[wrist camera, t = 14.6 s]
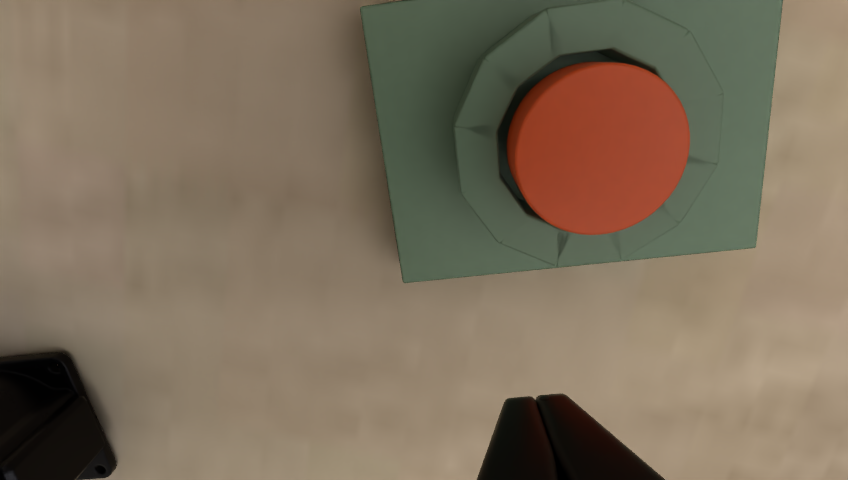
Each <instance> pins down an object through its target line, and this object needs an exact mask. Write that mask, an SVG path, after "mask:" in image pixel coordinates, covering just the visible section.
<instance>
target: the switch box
mask: <svg viewBox="0 0 848 480" xmlns="http://www.w3.org/2000/svg"><path fill="white" fill-rule="evenodd" d="M782 3H783V0H402V1H395V2H388V3H382V4H375V5H368V6H362V7H361V8H360V12H361V19H362V25H363V31H364V38H365V44H366V51H367V57H368V63H369V70H370V76H371V82H372V89H373V95H374V102H375V108H376V114H377V121H378V127H379V133H380V140H381V146H382V152H383V159H384V165H385V172H386V178H387V184H388V191H389V197H390V203H391V210H392V216H393V222H394V229H395V235H396V242H397V248H398V254H399V261H400V267H401V273H402V280H403V282H404V283H409V282H419V281H429V280H439V279H449V278H459V277H469V276H479V275H489V274H499V273H509V272H519V271H529V270H539V269H549V268H559V267H569V266H579V265H589V264H599V263H609V262H619V261H629V260H639V259H649V258H658V257H668V256H678V255H688V254H698V253H708V252H718V251H728V250H738V249H748V248H755V247H756V241H757V232H758V223H759V213H760V204H761V195H762V186H763V177H764V168H765V159H766V150H767V140H768V131H769V122H770V113H771V104H772V95H773V86H774V77H775V67H776V58H777V49H778V40H779V31H780V22H781V13H782ZM582 62H615V63H626V64H630V65H635V66H638V67H641V68H643V69H646V70H648V71H650V72H652V73H653V74H655V75H657V76H658V77H660V78H661V79H662V80H663V81H665V82H666V83H667V84H668V85H669V86H670V87H671V89H672V90H673V91H674V92H675V94H676V95H677V97H678V98H679V99H680V101H681V103H682V106H683V108H684V110H685V113H686V116H687V119H688V124H689V131H690V147H689V155H688V159H687V163H686V167H685V169H684V172H683V174H682V177H681V179H680V181H679V183H678V184H677V186H676V188H675V189H674V191H673V192H672V194H671V195H670V196H669V198H668V199H667V200H666V201H665V202H664V203H663V204H662V205H661V206H660V207H659V208H658V209H657V210H656V211H655V212H654V213H652V214H651V215H650V216H648V217H647V218H645V219H644V220H642V221H640V222H639V223H637V224H635V225H633V226H631V227H628V228H626V229H623V230H620V231H617V232H613V233H608V234H601V235H583V234H576V233H571V232H568V231H565V230H562V229H559V228H557V227H555V226H553V225H551V224H549V223H548V222H547V221H545V220H544V219H542V218H541V217H540V216H539V215H538V214H537V213H535V212H534V210H533V209H532V208H531V207H530V206H529V204H528V203H527V201H526V200H525V198H524V197H523V195H522V193H521V191H520V190H519V188H518V186H517V184H516V183H515V181H514V178H513V176H512V174H511V171H510V168H509V164H508V158H507V137H508V131H509V127H510V123H511V121H512V118H513V116H514V113H515V111H516V109H517V108H518V106H519V104H520V102H521V101H522V100H523V98H524V97H525V95H526V94H527V93H528V92H529V91H530V90H531V89H532V88H533V87H534V86H535V85H536V84H537V83H538V82H539V81H541V80H542V79H543V78H545V77H546V76H548V75H549V74H551V73H553V72H555V71H557V70H559V69H561V68H563V67H566V66H569V65H572V64H577V63H582Z"/></svg>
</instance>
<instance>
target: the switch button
mask: <svg viewBox="0 0 848 480" xmlns="http://www.w3.org/2000/svg"><path fill="white" fill-rule="evenodd" d="M689 147H690V131H689V124H688V119H687V116H686V113H685V110H684V108H683V106H682V103H681V101H680V99H679V98H678V97H677V95H676V94H675V92H674V91H673V90H672V89H671V87H670V86H669V85H668V84H667V83H666V82H665V81H663V80H662V79H661V78H660V77H658V76H657V75H655V74H653V73H652V72H650V71H648V70H646V69H643V68H641V67H638V66H635V65H630V64H626V63H615V62H582V63H577V64H572V65H569V66H566V67H563V68H561V69H559V70H557V71H555V72H553V73H551V74H549V75H548V76H546V77H545V78H543V79H542V80H541V81H539V82H538V83H537V84H536V85H535V86H534V87H533V88H532V89H531V90H530V91H529V92H528V93H527V94H526V95H525V97H524V98H523V100H522V101H521V102H520V104H519V106H518V108H517V109H516V111H515V113H514V116H513V118H512V121H511V123H510V127H509V131H508V137H507V158H508V164H509V168H510V171H511V174H512V176H513V178H514V181H515V183H516V184H517V186H518V188H519V190H520V191H521V193H522V195H523V197H524V198H525V200H526V201H527V203H528V204H529V206H530V207H531V208H532V209H533V210H534V212H535V213H537V214H538V215H539V216H540V217H541V218H542V219H544V220H545V221H547V222H548V223H549V224H551V225H553V226H555V227H557V228H559V229H562V230H565V231H568V232H571V233H576V234H583V235H601V234H608V233H613V232H617V231H620V230H623V229H626V228H628V227H631V226H633V225H635V224H637V223H639V222H640V221H642V220H644V219H645V218H647V217H648V216H650V215H651V214H652V213H654V212H655V211H656V210H657V209H658V208H659V207H660V206H661V205H662V204H663V203H664V202H665V201H666V200H667V199H668V198H669V196H670V195H671V194H672V192H673V191H674V189H675V188H676V186H677V184H678V183H679V181H680V179H681V177H682V174H683V172H684V169H685V167H686V163H687V159H688V155H689Z"/></svg>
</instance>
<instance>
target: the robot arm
mask: <svg viewBox="0 0 848 480" xmlns="http://www.w3.org/2000/svg"><path fill="white" fill-rule="evenodd" d="M57 364H58V365H59V366H60V367H59V366H58V365H57ZM116 466H117V464H116V460H115V458H114V456H113V454H112V451H111V449H110V447H109V444H108V442H107V440H106V438H105V435H104V433H103V431H102V428H101V426H100V424H99V421H98V419H97V417H96V415H95V412H94V410H93V408H92V405H91V403H90V401H89V399H88V396H87V394H86V392H85V389H84V387H83V385H82V382H81V380H80V378H79V376H78V373H77V371H76V369H75V366H74V364H73V362H72V360H71V359H70V357H68V356H67V355H66V354H63V353H58V352H56V353H45V354H34V355H24V356H13V357H3V358H0V480H83V479H96V478H106V477H108V476H110V475H111V474H112V472H113V471H114V470H115V469H116ZM477 480H665V479H664V478H663V477H661V476H660V475H659V474H658V473H657V472H656V471H654V470H653V469H652V468H651V467H650V466H649V465H647V464H646V463H645V462H644V461H643V460H642V459H640V458H639V457H638V456H637V455H636V454H635V453H633V452H632V451H631V450H630V449H629V448H628V447H626V446H625V445H624V444H623V443H622V442H620V441H619V440H618V439H617V438H616V437H615V436H613V435H612V434H611V433H610V432H609V431H608V430H606V429H605V428H604V427H603V426H602V425H601V424H599V423H598V422H597V421H596V420H595V419H594V418H592V417H591V416H590V415H589V414H588V413H587V412H585V411H584V410H583V409H582V408H581V407H579V406H578V405H577V404H576V403H575V402H574V401H572V400H571V399H570V398H569V397H568V396H566V395H564V394H549V395H540V396H538V397H536V400H535V399H534V398H533V397H530V396H528V397H517V398H508V399H506V400H505V402H504V404H503V407H502V410H501V413H500V416H499V418H498V421H497V424H496V427H495V430H494V433H493V435H492V438H491V441H490V444H489V447H488V450H487V452H486V455H485V458H484V461H483V464H482V466H481V469H480V472H479V475H478V478H477Z"/></svg>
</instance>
